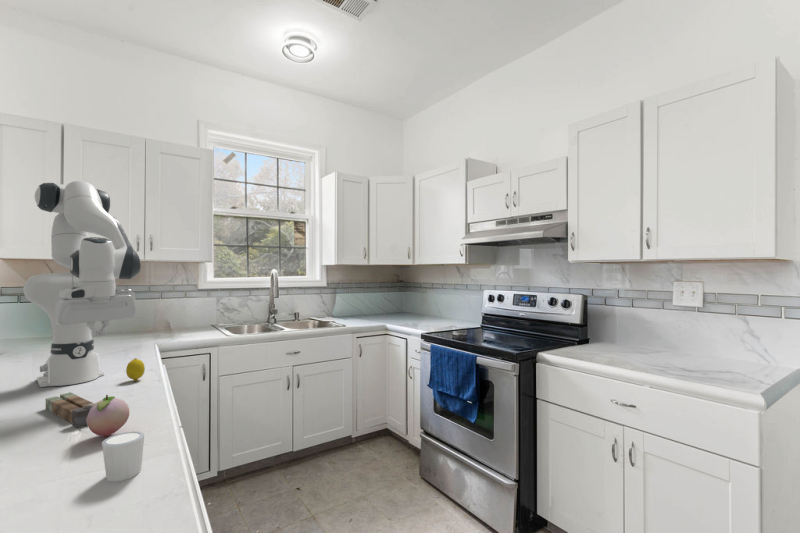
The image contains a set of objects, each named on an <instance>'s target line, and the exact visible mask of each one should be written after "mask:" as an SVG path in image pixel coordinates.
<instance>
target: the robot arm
mask: <svg viewBox="0 0 800 533" xmlns="http://www.w3.org/2000/svg"><path fill="white" fill-rule="evenodd" d="M34 200H35V201H34V202H35V203H36V207H38V209H40V210H41V211H44V212H49V213H52V212H53V213H57V215H55V216H54V219H53V222H52V227H51V228H52V229H51V234H50V237H51V239H50V240H51V257H52V258H51V259H52V260H53V261H54V262H55V263H57V264H58V265H60V266H62V267H65V268H68V269H70V272H51V273H49V272H47V273H42V274H36V275H31V276H30V277H29V278H28V279H27V280H26V281H25V282H24V285H23V289H22V290H23V295H24V297H25V299H26V300H28V301H29V302H30V303H31V304H34V305H36V306H38V307H39V308H40V309H41V310H43V312H45V314H46V315H47V316H48V318H49V321H50V324H51V330H52V343H51V346H50V353H49V354H50V355H49V357H48V358H47V360H46V362H44V363H43V365H40V366H39V372H40V373H43V374H42V375H39V376H37V377H36V382H37V384H38V387H39V388H45V387H56V386H57V387H59V386H68V385H69V386H70V385H76V384H81V383H87V382H90V381H93V380H96V379H97V378H100V377H101V376H105V372H104V371H100V356H99V354H98V353H97V352H96V351H94V349H95V342H94V341H95V340H94V339H93V338H96V337H103V336H106V330H107V328H108V327H109V325H110V321H116V320H123V319H125V320H126V319H133V318H135V317H136V316H137V307H136V306H137V305H136V300H137V299H136V298H137V296H136V295H137V294H136V292H135V291H133V290H132V289H130V288H129V289H128V288H127V289H116V288H117V284H116V279H118V280H132V279H133V278H135V277H136V276H137V275H138V274H140V272H141V267H142V266H141V264H142V263H141V259H140V256H139V254H138V253H137V251H136V250H135V249H134V247H133V246H132V244H131V242H130V240H129V238H128V236H127V234H126V232H125V230H124V228H123V227H122V225H121V223H120V221H119V220H118V219H117V218H116V217H114V216H113V215H111V214H110V213H109V212H110V209H111V207H112V202H111V198H110V195H109V194H108V192H106V191H103V190H101V189H96V187H95V186H94V185H93V184H92V183H90V182H88V181H85V180H74V181H71V182H69V183H68V184H63V183H59V184H58V183H54V182H43V183H41V184H39V185H38V187H37V188H36V190H35V193H34ZM90 234H95V235H98V236H101V237H95V236H94V237H93V236H92V237H91V236H90ZM96 322H100V324H101V325H102V326H101V327H100V329H97V330H96V329H95V327H94V326H96Z"/></svg>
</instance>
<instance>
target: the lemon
mask: <svg viewBox="0 0 800 533" xmlns="http://www.w3.org/2000/svg"><path fill="white" fill-rule="evenodd" d="M125 370H126V372H125V373H126V376H127V377H128V378H129V379H131V380H133V381H134V382H136V381H138V380H139V379H140V378H142V377H143V375H144V374H145V364H144V362H143V361H142V360H141V359H138V358H133V359H132V360H130V361H129V362H128V363H127V366H126V367H125Z"/></svg>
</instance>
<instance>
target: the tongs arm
mask: <svg viewBox="0 0 800 533" xmlns="http://www.w3.org/2000/svg"><path fill="white" fill-rule="evenodd" d="M59 397H60V398H62V399H63V400H65V401H67V402H69V403H71V404H73V405H76V406H78V407H80V408H82V407H85V405H87V404H95V402H92V401H89V400H88V399H85V398H83V397H81V396H79V395H77V394H75V393H73V392H71V391H70V392H65V393H60V394H59Z"/></svg>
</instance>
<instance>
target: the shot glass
mask: <svg viewBox="0 0 800 533" xmlns="http://www.w3.org/2000/svg"><path fill="white" fill-rule="evenodd" d="M144 443H145V433H144V432H142V431H127V432H126V431H125V432H123V433H117V434H115V435H110V436H108V437H106V438H105V439H104V440H103V441H101V445H102V446H101V447H102V453H103V463H104V469H105V477H106V481H108V482H115V483H116V482H121V481H126V480H129V479H131V478H134V477H136V476H137V475H139V473H141V472H142V463H143V453H144V445H145V444H144Z"/></svg>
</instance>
